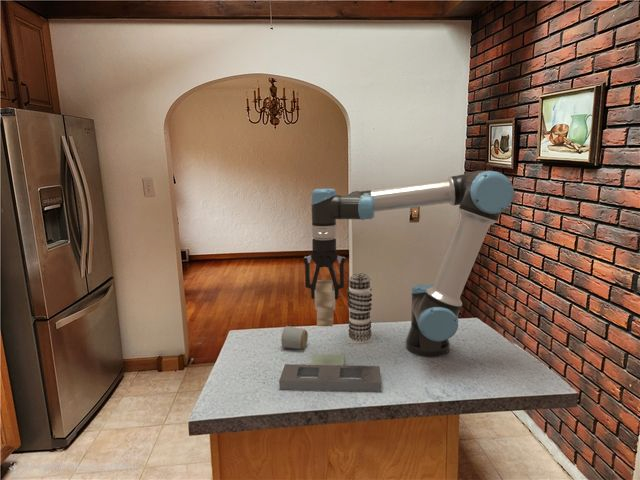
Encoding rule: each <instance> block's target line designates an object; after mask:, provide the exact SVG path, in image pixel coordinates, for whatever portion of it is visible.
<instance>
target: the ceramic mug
mask: <svg viewBox="0 0 640 480" xmlns="http://www.w3.org/2000/svg"><path fill="white" fill-rule="evenodd" d="M308 337H309V334H308V331H307V329H305V328H301V327H294V326H290V325H289V326H288V325H286V326H285V327H284V328H283V329H282V333H281V346H282V347H283V348H285V349H286V348H287V349H296V350H303V349H305V348H306V347H307V344H308V339H309V338H308Z"/></svg>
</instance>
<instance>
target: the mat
mask: <svg viewBox="0 0 640 480" xmlns="http://www.w3.org/2000/svg"><path fill="white" fill-rule="evenodd" d="M344 363H345V354H336V353H335V354H334V353H333V354H330V353H329V354H328V353H327V354H326V353H321V354H319V353H312V354H311V360H310V364H309V365H345V364H344Z"/></svg>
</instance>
